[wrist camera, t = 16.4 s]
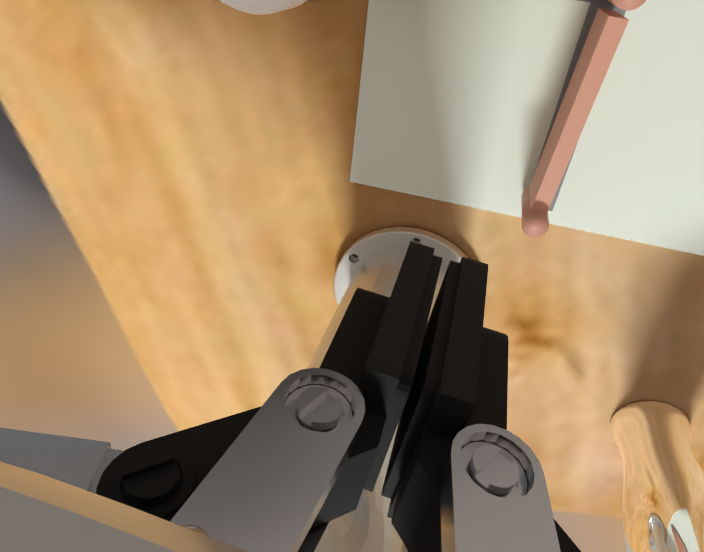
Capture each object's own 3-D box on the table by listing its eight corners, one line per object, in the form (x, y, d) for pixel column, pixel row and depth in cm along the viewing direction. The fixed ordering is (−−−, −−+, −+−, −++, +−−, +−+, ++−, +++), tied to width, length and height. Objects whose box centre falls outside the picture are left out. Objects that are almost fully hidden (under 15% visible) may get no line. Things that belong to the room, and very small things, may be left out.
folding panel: (608, -35, 27) (622, -31, 24) (638, -29, 27) (658, -25, 24) (518, 203, 36) (518, 233, 32) (540, 209, 36) (543, 239, 32)
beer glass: (598, 400, 44) (628, 571, 32) (690, 392, 41) (762, 577, 29) (611, 453, 47) (644, 629, 35) (698, 449, 44) (767, 639, 32)
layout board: (740, 261, 35) (742, 264, 34) (350, 180, 39) (349, 181, 39) (940, -47, 24) (945, -47, 24) (381, -109, 29) (380, -110, 29)
